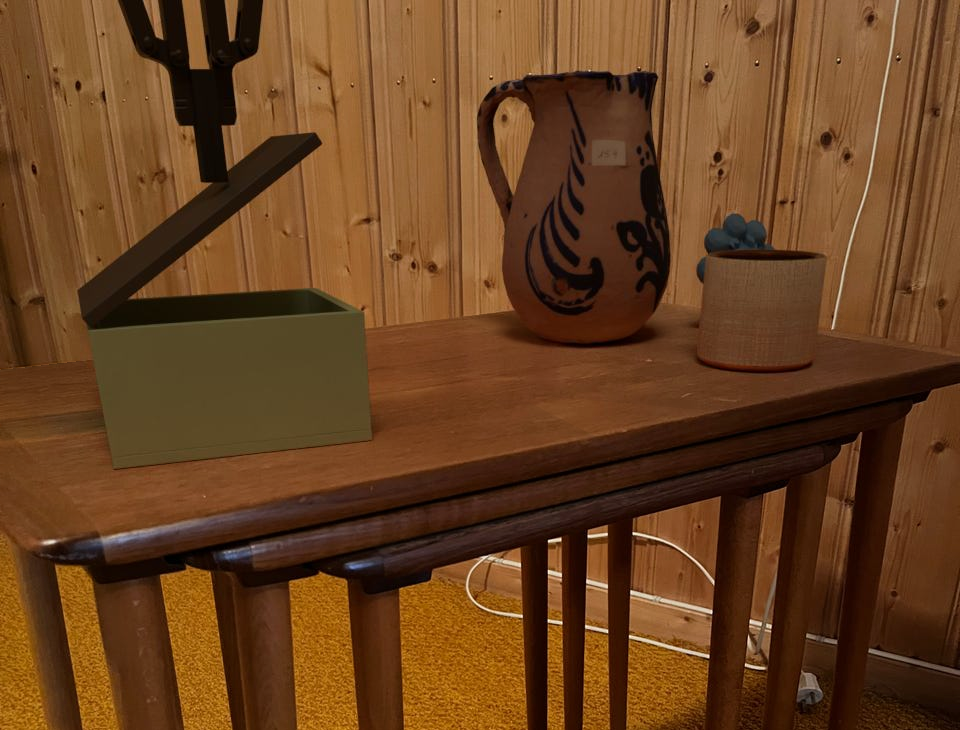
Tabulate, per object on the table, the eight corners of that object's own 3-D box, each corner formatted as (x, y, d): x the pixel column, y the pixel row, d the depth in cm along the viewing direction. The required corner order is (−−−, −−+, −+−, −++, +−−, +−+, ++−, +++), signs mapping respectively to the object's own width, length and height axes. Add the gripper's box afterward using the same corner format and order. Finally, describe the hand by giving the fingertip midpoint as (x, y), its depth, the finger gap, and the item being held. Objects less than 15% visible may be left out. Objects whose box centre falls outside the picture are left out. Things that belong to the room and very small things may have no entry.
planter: (820, 355, 95) (835, 250, 91) (804, 377, 87) (820, 262, 82) (709, 348, 99) (718, 247, 95) (684, 368, 91) (692, 258, 86)
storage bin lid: (278, 145, 73) (271, 135, 72) (323, 143, 60) (315, 131, 60) (84, 299, 72) (76, 290, 72) (90, 328, 60) (81, 317, 60)
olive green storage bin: (325, 398, 82) (315, 287, 78) (372, 440, 70) (364, 311, 66) (104, 419, 76) (82, 301, 72) (113, 469, 64) (87, 330, 60)
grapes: (720, 337, 105) (731, 216, 100) (678, 329, 110) (687, 214, 105) (797, 327, 110) (812, 212, 105) (754, 320, 116) (766, 209, 110)
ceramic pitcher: (650, 356, 96) (668, 62, 85) (449, 347, 102) (441, 72, 91) (676, 328, 111) (694, 75, 100) (499, 321, 117) (498, 82, 106)
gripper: (29, -323, 50) (115, 186, 60) (282, -291, 54) (322, 180, 64) (32, -268, 56) (110, 184, 67) (259, -244, 60) (298, 178, 71)
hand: (214, 181), depth 66 cm, fingers closed
